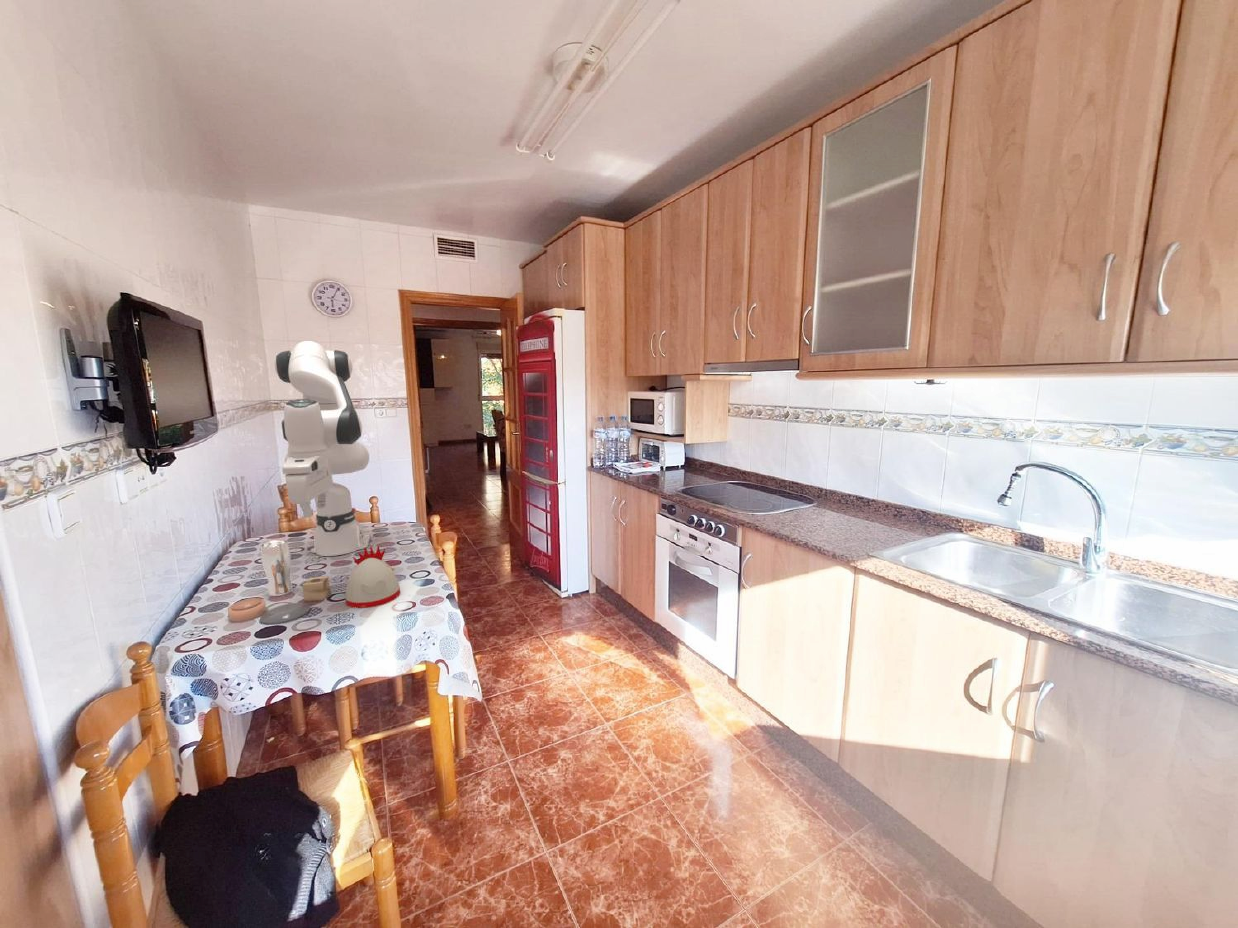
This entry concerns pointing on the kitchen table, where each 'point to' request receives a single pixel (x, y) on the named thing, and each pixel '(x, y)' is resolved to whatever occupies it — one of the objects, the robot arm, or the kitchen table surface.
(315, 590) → the oak block
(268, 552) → the beer glass
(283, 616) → the coaster
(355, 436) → the robot arm
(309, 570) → the kitchen table surface
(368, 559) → the kitchen timer
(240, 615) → the ramekin
